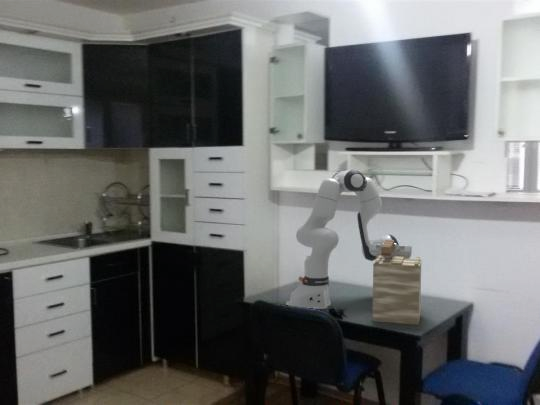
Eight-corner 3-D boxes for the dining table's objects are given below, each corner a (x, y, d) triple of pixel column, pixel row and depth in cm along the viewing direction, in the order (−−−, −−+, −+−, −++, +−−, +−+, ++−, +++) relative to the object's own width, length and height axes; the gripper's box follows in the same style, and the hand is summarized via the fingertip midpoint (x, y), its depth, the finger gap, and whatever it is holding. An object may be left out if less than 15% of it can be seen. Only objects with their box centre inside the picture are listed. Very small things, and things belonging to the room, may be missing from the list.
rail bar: (390, 255, 250) (390, 246, 250) (381, 255, 251) (381, 246, 251) (394, 248, 269) (394, 240, 269) (385, 248, 271) (385, 239, 270)
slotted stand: (418, 324, 245) (419, 263, 243) (372, 320, 251) (373, 261, 249) (420, 314, 260) (421, 257, 258) (376, 311, 266) (377, 255, 264)
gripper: (370, 247, 282) (367, 237, 270) (412, 249, 276) (411, 239, 264) (369, 259, 280) (366, 249, 268) (412, 261, 273) (410, 251, 261)
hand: (389, 244), depth 266 cm, fingers closed on rail bar, 4 cm apart
